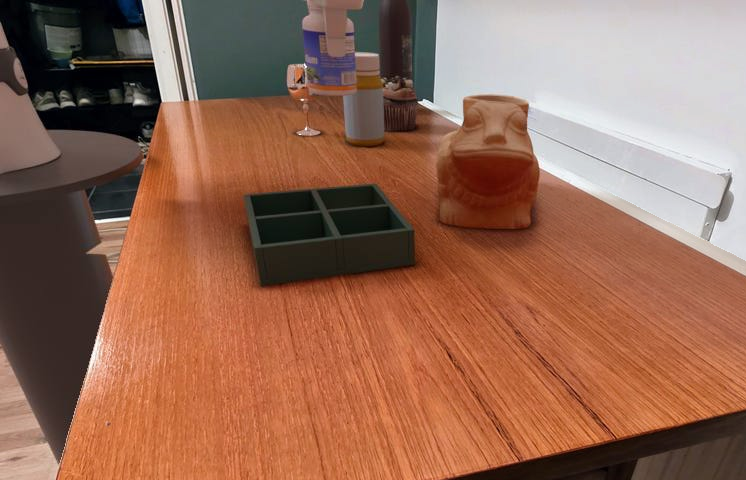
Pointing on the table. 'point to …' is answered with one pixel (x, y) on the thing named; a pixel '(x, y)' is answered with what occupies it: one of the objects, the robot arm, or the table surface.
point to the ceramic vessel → (488, 166)
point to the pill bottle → (327, 57)
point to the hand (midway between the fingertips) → (329, 52)
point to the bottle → (365, 103)
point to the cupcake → (399, 103)
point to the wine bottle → (395, 38)
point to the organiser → (326, 233)
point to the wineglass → (301, 92)
